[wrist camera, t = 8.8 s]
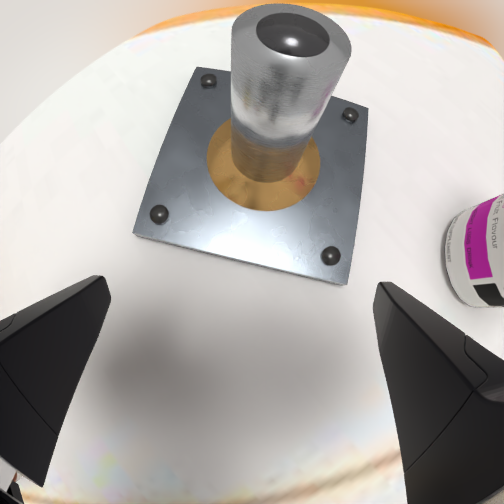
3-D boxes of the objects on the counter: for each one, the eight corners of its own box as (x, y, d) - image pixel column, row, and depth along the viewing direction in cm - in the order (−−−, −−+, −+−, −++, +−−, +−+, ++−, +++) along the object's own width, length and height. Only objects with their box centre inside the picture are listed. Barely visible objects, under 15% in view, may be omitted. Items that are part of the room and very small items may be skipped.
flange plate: (341, 285, 20) (349, 284, 18) (136, 235, 19) (130, 231, 18) (363, 114, 22) (370, 105, 20) (197, 74, 21) (196, 63, 20)
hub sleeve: (254, 195, 19) (278, 89, 8) (218, 141, 19) (209, 18, 9) (312, 163, 20) (375, 57, 9) (275, 113, 20) (303, -5, 9)
